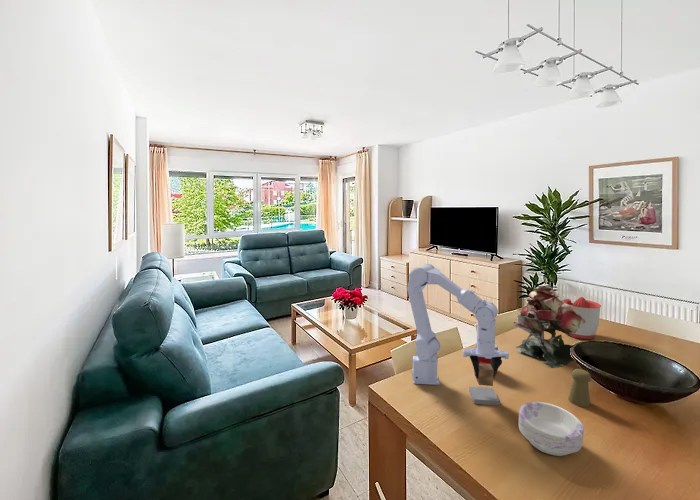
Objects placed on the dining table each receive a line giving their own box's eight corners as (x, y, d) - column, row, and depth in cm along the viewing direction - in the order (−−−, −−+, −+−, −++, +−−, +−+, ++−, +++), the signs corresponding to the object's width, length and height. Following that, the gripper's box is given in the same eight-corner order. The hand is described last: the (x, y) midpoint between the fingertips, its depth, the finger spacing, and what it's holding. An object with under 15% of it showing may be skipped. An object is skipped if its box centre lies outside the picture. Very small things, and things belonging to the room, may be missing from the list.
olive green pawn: (586, 398, 112) (589, 368, 111) (593, 408, 106) (595, 376, 105) (566, 395, 114) (568, 365, 112) (571, 405, 108) (573, 373, 107)
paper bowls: (583, 473, 81) (586, 444, 80) (515, 450, 89) (516, 423, 88) (579, 436, 94) (582, 411, 92) (520, 419, 101) (521, 395, 100)
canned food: (498, 375, 128) (500, 348, 126) (477, 373, 129) (478, 347, 128) (494, 366, 135) (495, 340, 134) (473, 364, 137) (474, 339, 135)
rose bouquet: (588, 352, 147) (594, 286, 143) (558, 371, 131) (563, 298, 127) (530, 334, 168) (533, 277, 164) (498, 349, 151) (501, 285, 148)
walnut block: (478, 384, 111) (479, 369, 110) (475, 378, 115) (476, 363, 114) (492, 386, 110) (493, 370, 109) (489, 379, 114) (490, 364, 114)
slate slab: (474, 404, 110) (474, 399, 110) (468, 391, 118) (468, 386, 118) (499, 406, 109) (499, 400, 109) (491, 392, 117) (492, 387, 117)
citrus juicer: (587, 329, 173) (590, 292, 171) (604, 342, 157) (608, 302, 154) (554, 327, 177) (557, 291, 174) (568, 340, 160) (571, 300, 158)
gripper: (466, 342, 108) (464, 381, 109) (512, 344, 106) (510, 384, 107) (461, 334, 115) (460, 371, 116) (505, 336, 113) (503, 373, 114)
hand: (484, 376), depth 112 cm, fingers closed on walnut block, 4 cm apart
